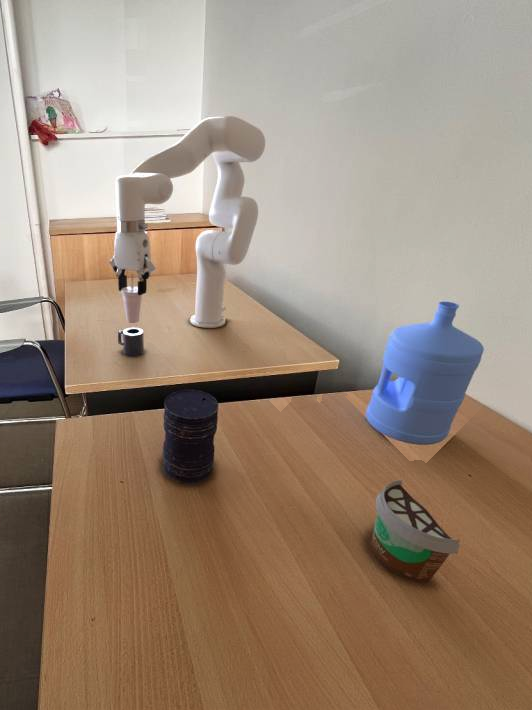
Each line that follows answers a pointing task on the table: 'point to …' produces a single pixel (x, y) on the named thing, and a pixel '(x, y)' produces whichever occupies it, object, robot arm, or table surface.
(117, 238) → the robot arm
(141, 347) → the mug
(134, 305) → the smoothie
